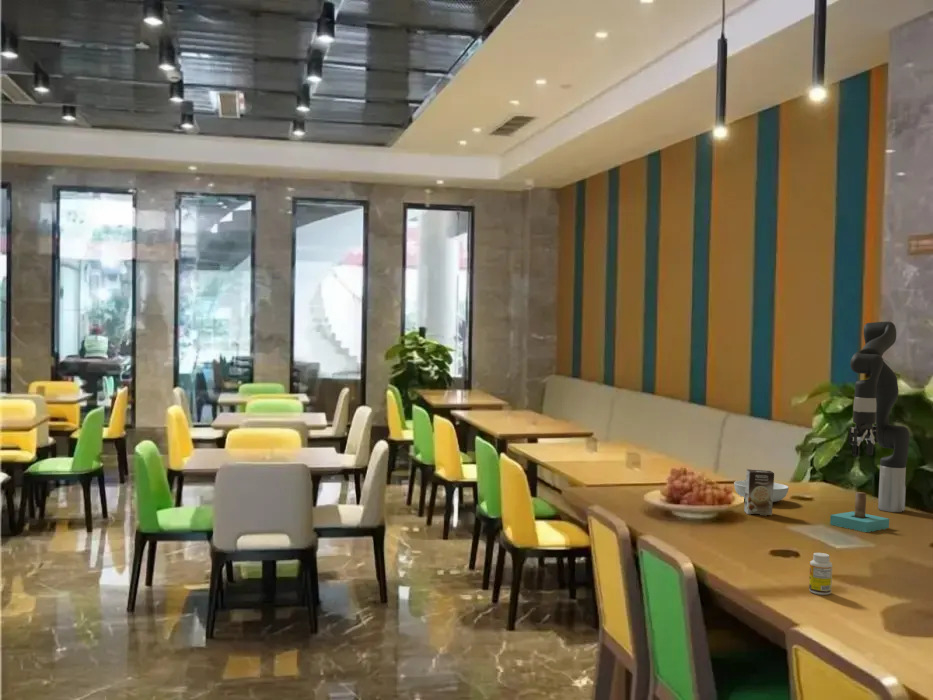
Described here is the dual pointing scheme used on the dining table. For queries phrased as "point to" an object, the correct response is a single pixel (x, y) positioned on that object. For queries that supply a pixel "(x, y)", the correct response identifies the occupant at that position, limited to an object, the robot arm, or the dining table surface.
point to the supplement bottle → (820, 574)
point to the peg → (860, 505)
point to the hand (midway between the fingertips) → (862, 455)
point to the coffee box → (759, 492)
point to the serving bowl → (778, 490)
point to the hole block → (859, 522)
